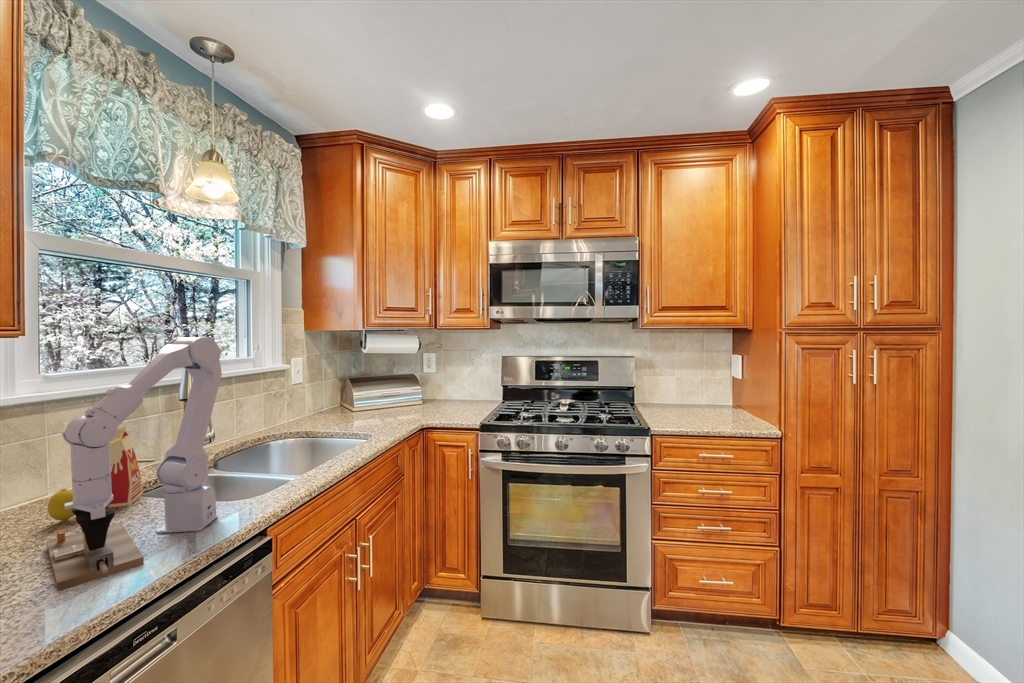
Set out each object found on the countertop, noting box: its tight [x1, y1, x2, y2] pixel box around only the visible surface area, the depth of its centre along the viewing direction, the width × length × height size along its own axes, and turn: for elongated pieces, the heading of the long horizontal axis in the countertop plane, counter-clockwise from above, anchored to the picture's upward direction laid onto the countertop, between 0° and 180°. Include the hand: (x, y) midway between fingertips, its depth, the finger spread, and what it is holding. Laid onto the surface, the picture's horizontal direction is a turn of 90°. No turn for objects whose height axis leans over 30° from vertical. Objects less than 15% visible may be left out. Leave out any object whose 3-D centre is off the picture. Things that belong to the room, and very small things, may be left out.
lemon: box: [47, 488, 75, 523], centre depth 110 cm, size 6×6×8 cm
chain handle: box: [53, 532, 108, 574], centre depth 87 cm, size 18×7×5 cm, turn 48°
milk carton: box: [107, 425, 144, 509], centre depth 122 cm, size 9×9×20 cm
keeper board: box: [46, 522, 145, 592], centre depth 93 cm, size 24×12×4 cm, turn 48°
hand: (94, 544), depth 91 cm, fingers open, 5 cm apart
